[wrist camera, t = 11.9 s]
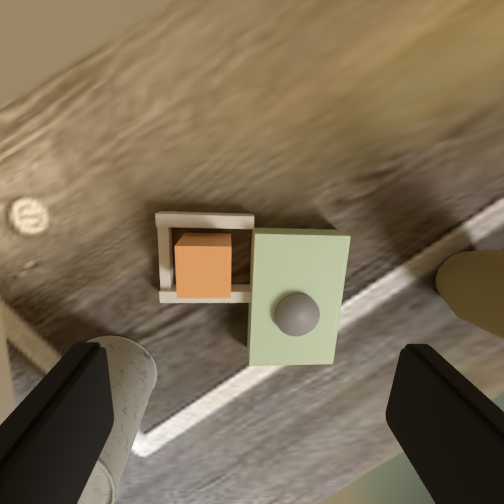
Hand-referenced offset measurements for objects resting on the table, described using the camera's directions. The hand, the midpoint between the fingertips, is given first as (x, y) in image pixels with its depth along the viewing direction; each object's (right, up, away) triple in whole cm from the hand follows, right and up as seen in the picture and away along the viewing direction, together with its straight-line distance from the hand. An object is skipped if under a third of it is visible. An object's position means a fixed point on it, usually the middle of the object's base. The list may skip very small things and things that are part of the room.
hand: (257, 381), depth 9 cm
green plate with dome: (0, +1, +21) cm, 21 cm away
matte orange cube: (-5, +4, +19) cm, 20 cm away
